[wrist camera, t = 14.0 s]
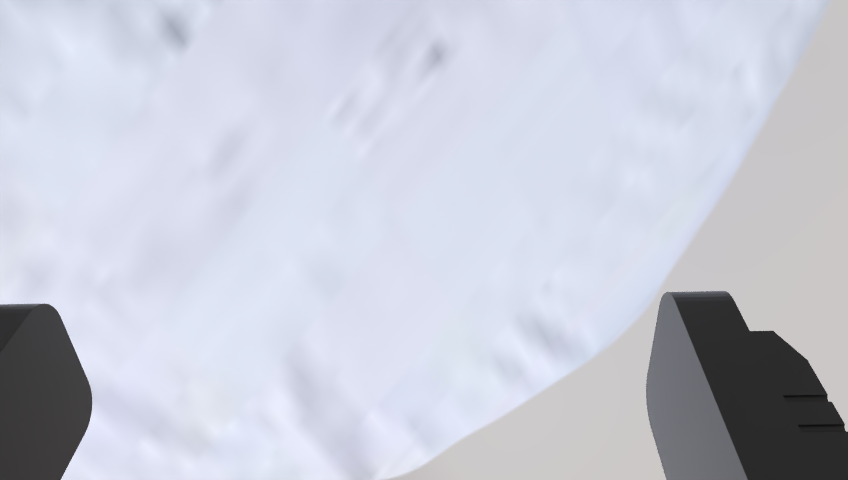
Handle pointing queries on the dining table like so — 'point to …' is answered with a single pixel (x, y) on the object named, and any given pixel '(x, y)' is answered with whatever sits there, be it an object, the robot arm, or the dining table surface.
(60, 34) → the dining table surface
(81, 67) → the dining table surface
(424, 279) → the dining table surface
